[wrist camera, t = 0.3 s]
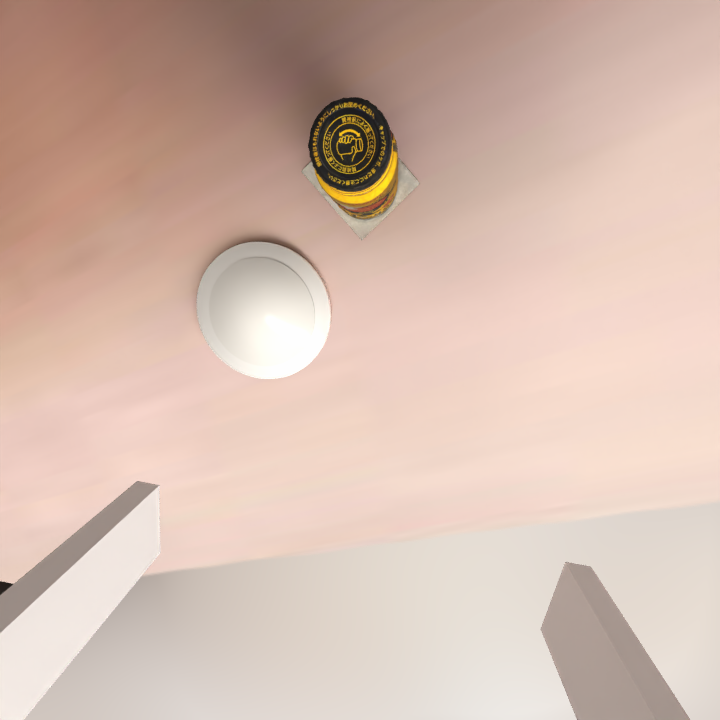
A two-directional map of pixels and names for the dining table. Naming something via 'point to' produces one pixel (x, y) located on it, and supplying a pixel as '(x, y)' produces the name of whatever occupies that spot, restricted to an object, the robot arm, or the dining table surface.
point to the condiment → (357, 163)
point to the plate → (263, 310)
